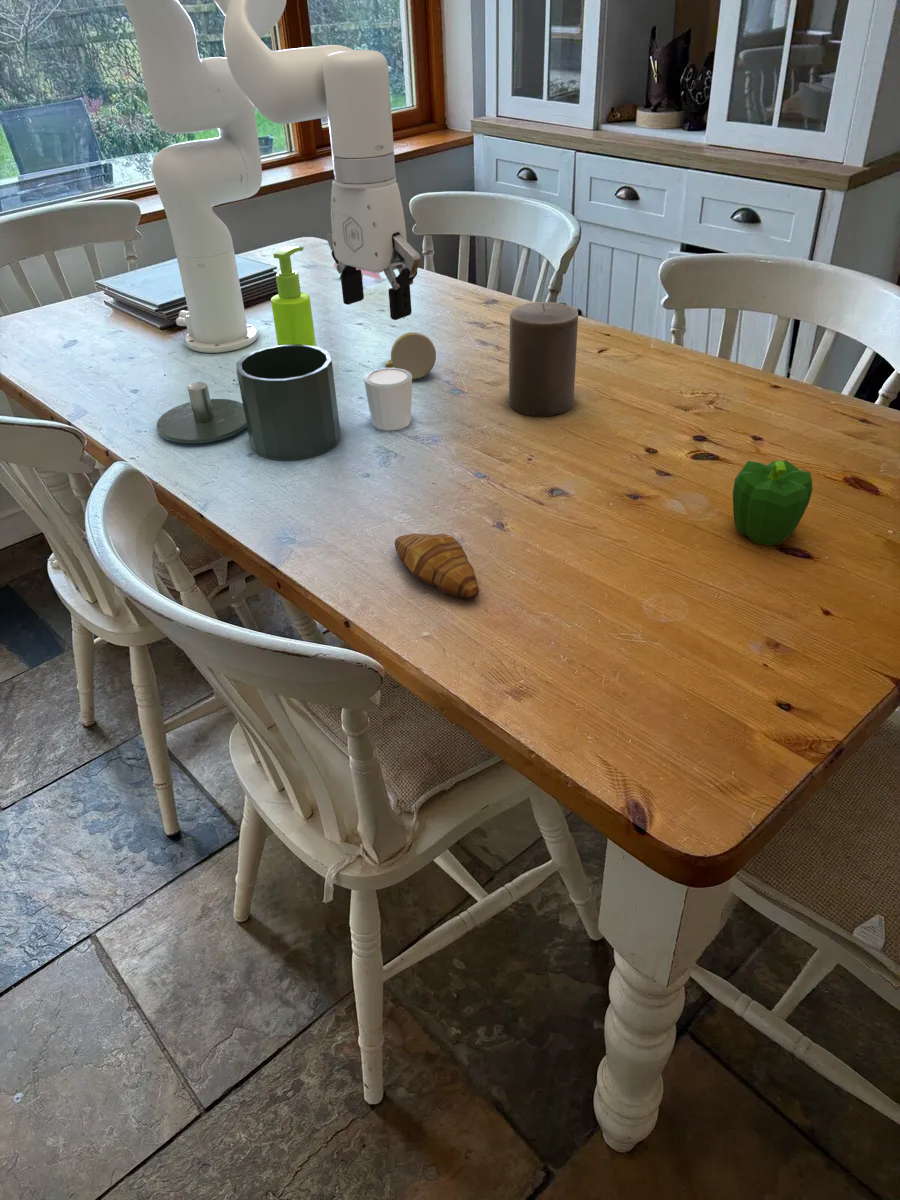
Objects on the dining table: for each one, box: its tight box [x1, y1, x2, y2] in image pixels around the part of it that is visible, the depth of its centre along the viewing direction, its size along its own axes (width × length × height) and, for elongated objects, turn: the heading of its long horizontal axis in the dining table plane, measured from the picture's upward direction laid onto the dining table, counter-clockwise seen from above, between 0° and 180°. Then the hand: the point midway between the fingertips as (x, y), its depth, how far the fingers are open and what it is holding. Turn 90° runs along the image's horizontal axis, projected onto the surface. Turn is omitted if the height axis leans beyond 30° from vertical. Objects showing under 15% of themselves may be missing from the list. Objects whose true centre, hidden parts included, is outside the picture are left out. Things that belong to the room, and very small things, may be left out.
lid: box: [156, 381, 247, 444], centre depth 126 cm, size 14×14×6 cm
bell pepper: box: [732, 459, 813, 546], centre depth 98 cm, size 8×8×10 cm
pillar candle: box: [508, 301, 579, 418], centre depth 126 cm, size 10×10×15 cm
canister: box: [235, 344, 341, 462], centre depth 120 cm, size 13×13×12 cm
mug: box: [384, 331, 437, 380], centre depth 140 cm, size 8×10×10 cm
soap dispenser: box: [270, 245, 317, 347], centre depth 135 cm, size 6×7×20 cm
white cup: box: [363, 367, 413, 432], centre depth 125 cm, size 7×7×7 cm
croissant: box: [394, 533, 480, 601], centre depth 95 cm, size 14×7×5 cm, turn 39°
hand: (377, 309), depth 117 cm, fingers open, 9 cm apart
